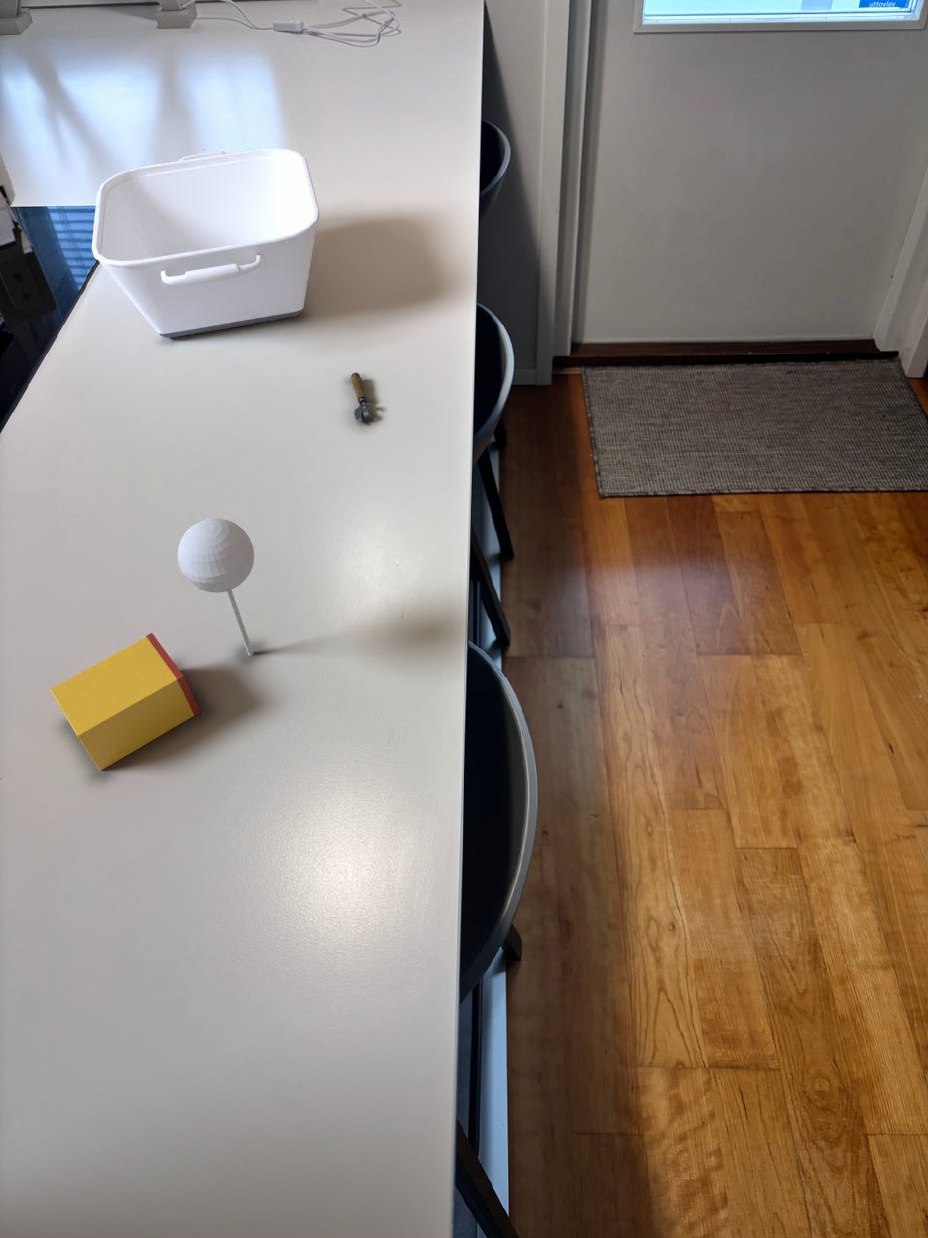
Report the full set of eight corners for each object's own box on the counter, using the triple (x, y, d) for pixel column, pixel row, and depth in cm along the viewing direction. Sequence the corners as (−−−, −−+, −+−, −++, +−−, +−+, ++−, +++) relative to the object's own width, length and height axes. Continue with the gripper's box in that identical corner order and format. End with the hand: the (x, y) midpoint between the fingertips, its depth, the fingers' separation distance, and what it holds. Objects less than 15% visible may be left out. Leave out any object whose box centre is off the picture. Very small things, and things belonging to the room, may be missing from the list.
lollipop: (213, 637, 86) (164, 512, 75) (277, 620, 87) (238, 494, 76) (222, 688, 82) (172, 563, 71) (289, 670, 83) (250, 544, 72)
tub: (346, 346, 116) (328, 246, 107) (125, 384, 114) (87, 285, 104) (315, 223, 139) (299, 131, 129) (130, 253, 136) (99, 161, 127)
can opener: (351, 380, 111) (350, 372, 110) (371, 378, 111) (370, 369, 110) (355, 427, 105) (354, 418, 104) (376, 424, 105) (375, 416, 104)
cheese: (100, 772, 77) (77, 736, 73) (72, 724, 80) (48, 688, 76) (201, 713, 80) (183, 675, 76) (170, 669, 84) (151, 632, 80)
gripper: (-249, -40, 51) (-92, 259, 64) (-176, 31, 42) (-8, 367, 54) (-109, -71, 54) (16, 222, 67) (-10, -11, 44) (114, 318, 57)
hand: (5, 287), depth 61 cm, fingers open, 9 cm apart
